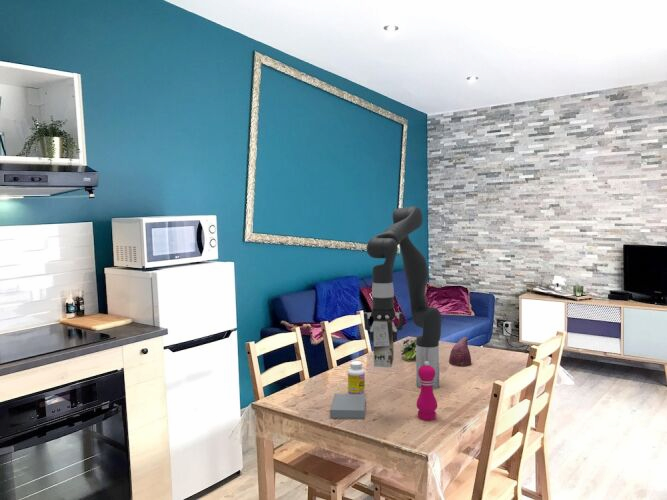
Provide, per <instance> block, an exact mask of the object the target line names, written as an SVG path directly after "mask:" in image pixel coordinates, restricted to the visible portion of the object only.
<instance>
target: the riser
mask: <svg viewBox="0 0 667 500" xmlns="http://www.w3.org/2000/svg"><path fill="white" fill-rule="evenodd" d="M332 398H333V399H332V402H331V404H330V405H331V406H330V409H329V413H330V414H329V417H330V418H329V419H350V420H351V419H353V420H359V419H360V420H364V419H365V414H366V406H367V405H366V404H367V396H366V393H365V394H348V393H334V395H333V397H332Z"/></svg>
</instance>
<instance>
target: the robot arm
mask: <svg viewBox="0 0 667 500" xmlns="http://www.w3.org/2000/svg"><path fill="white" fill-rule="evenodd" d="M392 221H393V222H392V223H393V224H391V225H389V226H388V227H387V228H386V229H385V230H384V231H383V232H382V233H379V234H376V235H375V236H373V237H371V238H370V239H369V240H368V241H367V244H366V252H367V255H368V256H370V257H371V258H373V259H384V262H383V264H378V265H374V266H373V267H372V285H371V287H372V288H371V297H372V299H371V304H372V305H371V306H372V307H371V308H372V309H371V312H366V311H365V312H364V313H363V322H364V330H365V331H368V332H369V338H370V339H369V340H370V341H371V342H372V343H374V331H373V323H372V324H371V325H369V319H370V317H372V318H373V321H374V320H380V319H387V320H391V319H393V320H394V318H395V317H396V319H398V326H396V325H395V323H394V321H393V322H392V329H393V343H396V342H397V340H398V332H399V331H402V330H403V321H404V320H403V318H404V313H403V312H402V311H400V312H396V311H395V292H394V291H395V289H394V288H395V287H394V282H393V281H394V280H393V276H394V264H395V260H396V257H397V255H398V250H399V249H400V253H401V258H402V264H403V269H404V275H405V278H406V282H407V283H406V284H407V288H408V295H409V302H410V303H409V304H410V311H411V314H410V315H411V319H412V321H413V324H414V325H415V326H416V327H419V328H421V329H422V334H421V335H419V336H417V337H416V348H415V351H416V355H415V369H416V370H415V371H416V372H415V373H416V374H415V377H416V378H415V379H416V380H415V381H416V384H415V385H416V386H417V387H418V388H420V389H421V384H420V377H419V375H418V370H419V368H420V367H421V366H423V365H424V362H425V361H428V362H429V366H432V367H433V368H434V369H435V377H434V378H433V379H434V384H433V389H439V388H440V362H439V360H440V359H439V358H440V357H439V355H440V354H439V349H440V348H439V345H440V344H439V343H440V342H439V341H440V340H441V332H442V315H441V312H440V310H439V309H438V308H436V307H432V306H428V304H427V301H426V296H425V295H426V294H425V289H426V286H427V284H428V279H429V269H428V265H427V260H426V257H425V256H424V255H423V254H422V252H421V251H420V250H419V249H418V248H417V247H416V246H415V245H414V244H413V242H412V240H411V239H410V237H409V235H410V234H411V233H413V232H414V231H417V230H418V229H419V228H420V227H421V226H422V224H423V212H422V210H421V208H420V207H418V206H416V205H415V206H413V205H411V206H405V207H398V208H395V209H394V210H393V212H392ZM398 246H399V248H398Z"/></svg>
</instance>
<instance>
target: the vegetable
mask: <svg viewBox="0 0 667 500" xmlns="http://www.w3.org/2000/svg"><path fill="white" fill-rule="evenodd" d="M471 357H472V356H471V352H470V349H469V346H468V337H467V336H463V337H461V339H460V340H459V341H458V342H456V343H455V344H454V345H453V347H452V349H451V350H450V354H449V359H448V363H449V364H450V365H451V366H454V367H460V368H466V367H469V366H471V365H472V358H471Z"/></svg>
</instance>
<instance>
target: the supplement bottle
mask: <svg viewBox="0 0 667 500" xmlns="http://www.w3.org/2000/svg"><path fill="white" fill-rule="evenodd" d="M349 367H350V368H349V369H348V370H347V394H366V393H365V391H366V390H365V389H366V388H365V387H366V384H365V383H366V380H365V378H366V377H365V374H366V373H365V370H364V368H363V363H362V361H359V360H358V361H355V360H354V361H351V362H350V363H349Z"/></svg>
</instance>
